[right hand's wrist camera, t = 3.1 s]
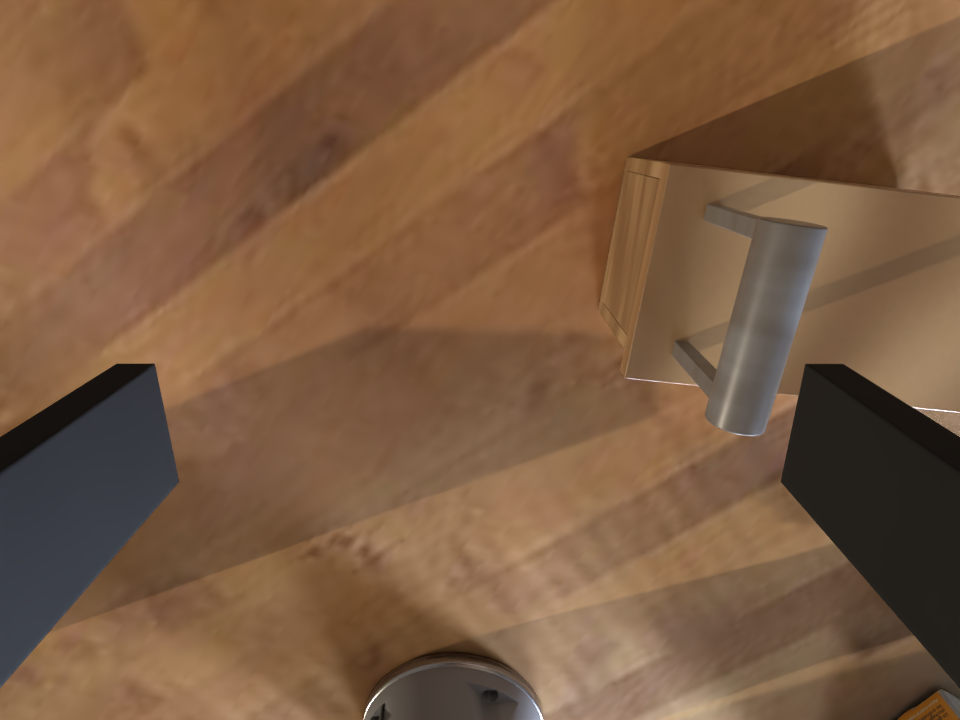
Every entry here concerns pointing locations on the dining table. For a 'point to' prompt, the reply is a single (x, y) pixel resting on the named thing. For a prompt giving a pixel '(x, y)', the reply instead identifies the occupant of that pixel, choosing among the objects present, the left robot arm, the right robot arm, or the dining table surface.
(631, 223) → the chest
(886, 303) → the lid
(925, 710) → the hard drive box
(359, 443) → the dining table surface
